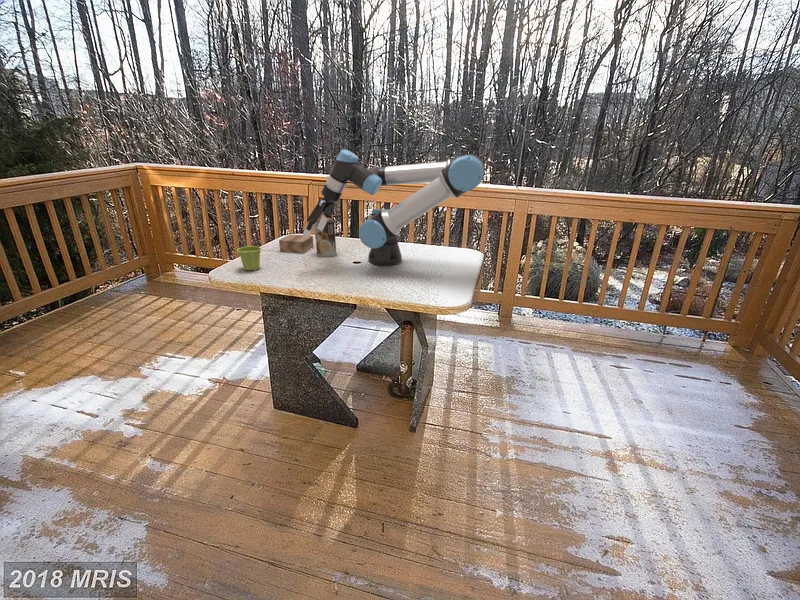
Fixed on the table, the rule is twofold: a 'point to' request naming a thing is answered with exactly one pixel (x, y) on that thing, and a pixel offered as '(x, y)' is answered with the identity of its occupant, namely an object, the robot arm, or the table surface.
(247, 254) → the plant pot
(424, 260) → the table surface
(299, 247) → the walnut block
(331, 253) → the coffee box
